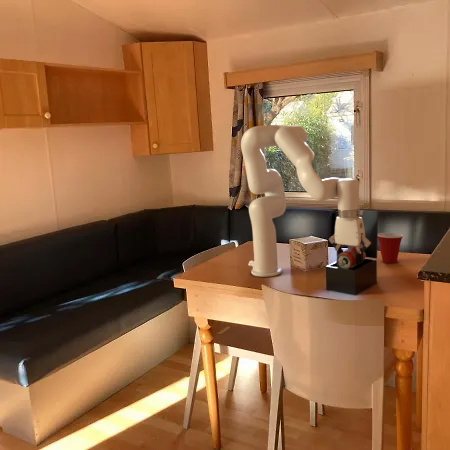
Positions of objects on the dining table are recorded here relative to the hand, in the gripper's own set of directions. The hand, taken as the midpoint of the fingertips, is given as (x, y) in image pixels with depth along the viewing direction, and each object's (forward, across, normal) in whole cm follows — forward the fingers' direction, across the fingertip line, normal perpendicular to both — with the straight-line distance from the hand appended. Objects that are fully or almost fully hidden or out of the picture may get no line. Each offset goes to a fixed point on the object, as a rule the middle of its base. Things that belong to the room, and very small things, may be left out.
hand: (349, 261), depth 180 cm
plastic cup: (+10, +2, -38) cm, 39 cm away
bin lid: (-8, 0, -10) cm, 13 cm away
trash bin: (+9, 0, -1) cm, 10 cm away
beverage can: (+2, 0, 0) cm, 2 cm away
